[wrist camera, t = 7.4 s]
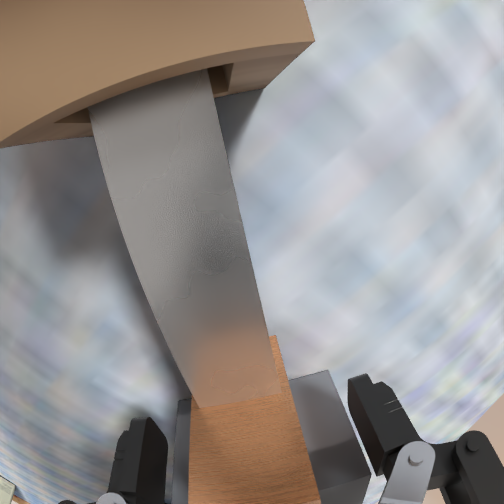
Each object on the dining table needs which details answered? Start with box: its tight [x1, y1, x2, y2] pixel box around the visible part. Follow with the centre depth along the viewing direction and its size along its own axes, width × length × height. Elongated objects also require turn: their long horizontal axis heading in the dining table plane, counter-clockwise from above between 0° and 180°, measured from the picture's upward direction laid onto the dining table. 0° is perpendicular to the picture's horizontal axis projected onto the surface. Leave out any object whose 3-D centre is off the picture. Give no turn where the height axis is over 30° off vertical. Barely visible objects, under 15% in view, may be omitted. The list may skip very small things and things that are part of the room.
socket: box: [172, 370, 371, 504], centre depth 13 cm, size 8×8×6 cm
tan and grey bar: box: [88, 68, 321, 504], centre depth 8 cm, size 20×3×7 cm, turn 12°
